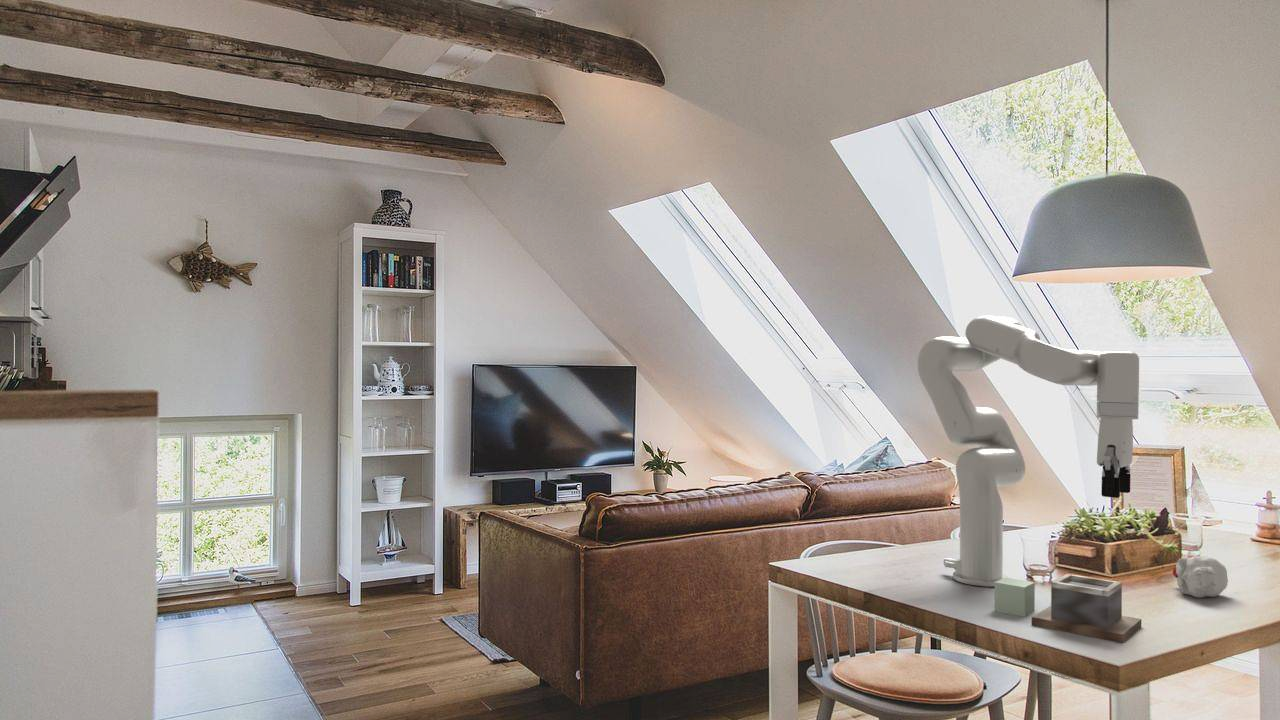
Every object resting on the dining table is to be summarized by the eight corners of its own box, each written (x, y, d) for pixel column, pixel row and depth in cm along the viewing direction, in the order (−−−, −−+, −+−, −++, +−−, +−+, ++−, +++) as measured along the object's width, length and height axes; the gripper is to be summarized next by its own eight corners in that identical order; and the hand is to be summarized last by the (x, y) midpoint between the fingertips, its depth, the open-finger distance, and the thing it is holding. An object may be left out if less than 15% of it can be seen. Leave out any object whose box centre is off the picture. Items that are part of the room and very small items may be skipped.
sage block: (994, 611, 178) (994, 582, 178) (1005, 605, 182) (1005, 577, 183) (1024, 617, 174) (1024, 587, 174) (1034, 611, 178) (1034, 582, 178)
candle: (1200, 600, 186) (1154, 591, 201) (1249, 600, 187) (1200, 591, 202) (1196, 558, 187) (1151, 552, 202) (1245, 557, 188) (1196, 552, 203)
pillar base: (1031, 624, 168) (1031, 581, 168) (1054, 610, 179) (1054, 569, 179) (1122, 642, 157) (1122, 596, 158) (1141, 626, 168) (1141, 583, 168)
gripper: (1106, 409, 185) (1105, 488, 185) (1086, 411, 172) (1085, 497, 172) (1146, 411, 180) (1145, 492, 180) (1129, 413, 167) (1127, 501, 167)
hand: (1116, 494), depth 176 cm, fingers open, 9 cm apart
